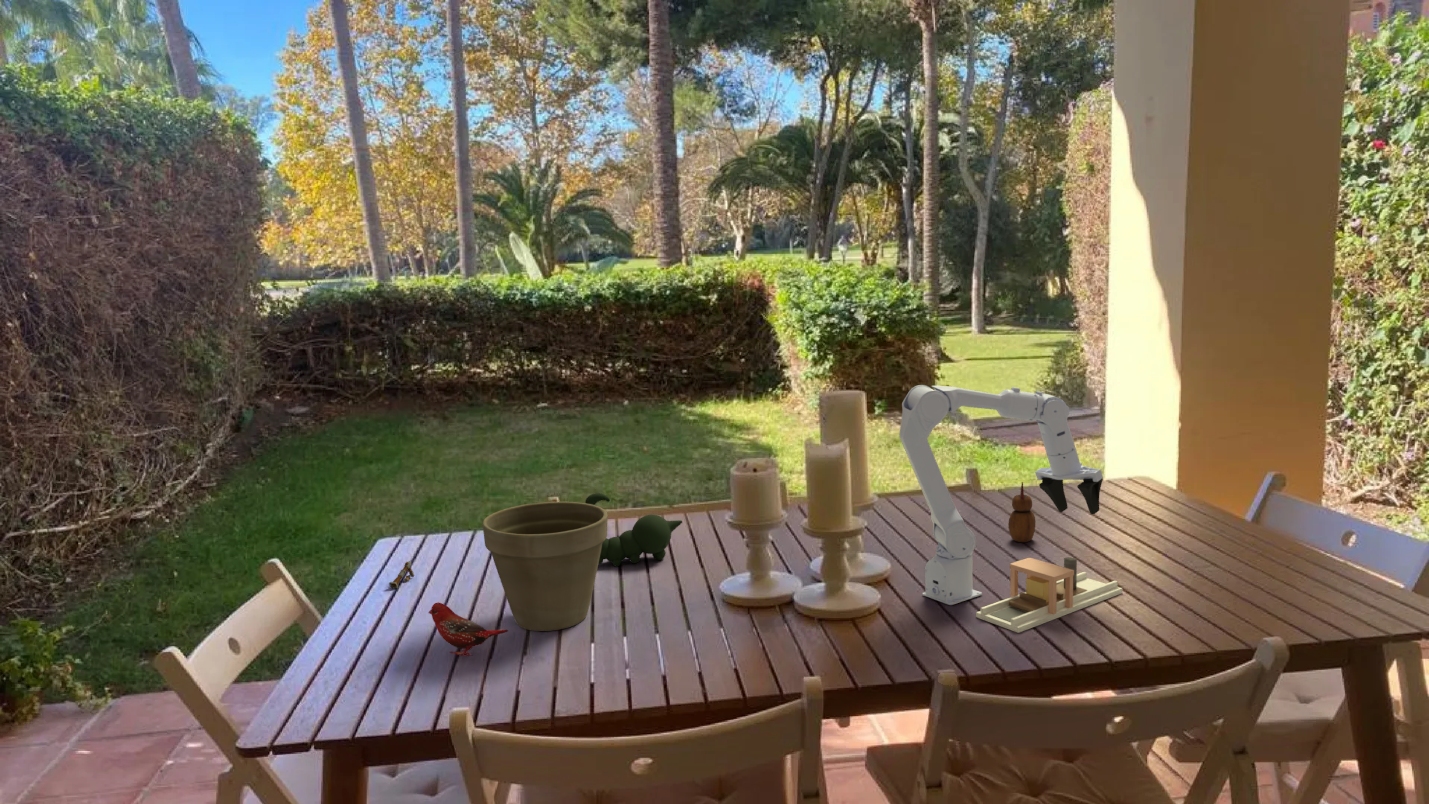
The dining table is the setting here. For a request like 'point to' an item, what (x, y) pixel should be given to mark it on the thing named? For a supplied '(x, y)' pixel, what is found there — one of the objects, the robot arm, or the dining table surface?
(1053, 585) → the track
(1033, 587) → the block
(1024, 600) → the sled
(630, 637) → the dining table surface
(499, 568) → the plant pot
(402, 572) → the wooden post with brackets
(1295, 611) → the dining table surface
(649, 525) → the toy figurine
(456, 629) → the decorative bird figurine
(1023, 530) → the wooden figurine
